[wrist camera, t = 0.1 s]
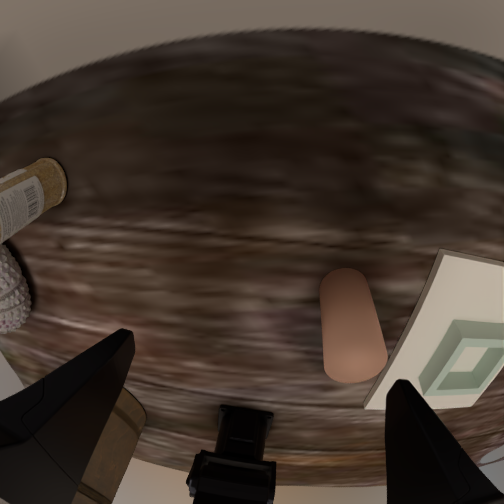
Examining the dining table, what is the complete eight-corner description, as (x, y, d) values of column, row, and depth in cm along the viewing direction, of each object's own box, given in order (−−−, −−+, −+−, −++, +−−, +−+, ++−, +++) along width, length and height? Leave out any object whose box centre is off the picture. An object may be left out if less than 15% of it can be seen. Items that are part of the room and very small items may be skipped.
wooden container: (46, 374, 40) (-17, 479, 20) (86, 352, 34) (4, 496, 15) (112, 429, 44) (69, 533, 25) (167, 420, 39) (121, 556, 20)
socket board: (469, 400, 31) (476, 421, 28) (363, 402, 32) (366, 427, 29) (551, 273, 21) (568, 292, 18) (439, 248, 22) (456, 271, 19)
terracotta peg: (359, 311, 26) (374, 384, 19) (314, 305, 26) (317, 380, 19) (373, 271, 24) (397, 343, 17) (325, 264, 24) (334, 336, 17)
